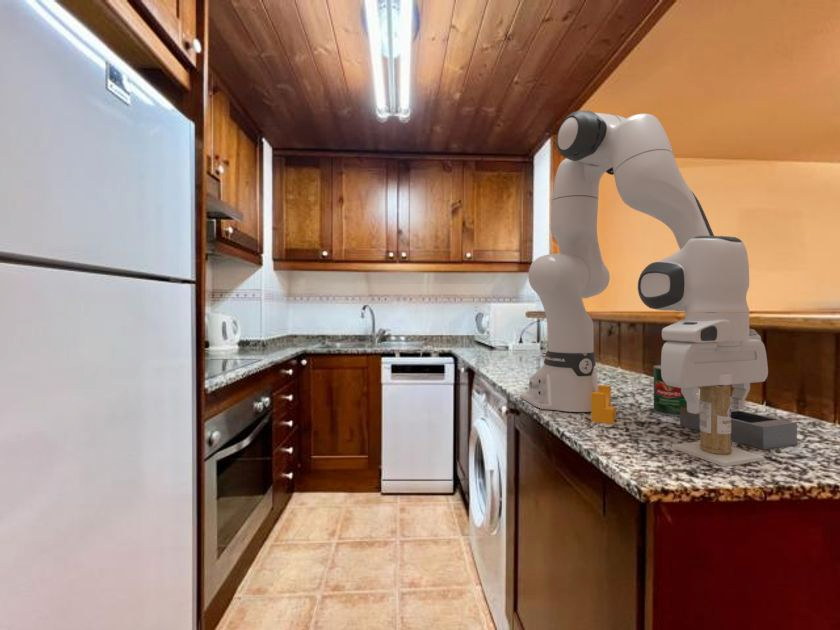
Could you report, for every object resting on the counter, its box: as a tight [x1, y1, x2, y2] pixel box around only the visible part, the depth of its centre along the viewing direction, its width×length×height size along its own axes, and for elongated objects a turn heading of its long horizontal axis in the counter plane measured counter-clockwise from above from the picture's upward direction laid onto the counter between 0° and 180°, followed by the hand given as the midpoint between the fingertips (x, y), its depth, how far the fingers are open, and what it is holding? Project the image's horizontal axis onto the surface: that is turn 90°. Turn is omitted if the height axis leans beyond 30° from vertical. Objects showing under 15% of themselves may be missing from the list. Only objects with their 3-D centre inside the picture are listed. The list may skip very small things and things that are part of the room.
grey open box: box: [679, 406, 798, 451], centre depth 79 cm, size 16×9×4 cm, turn 17°
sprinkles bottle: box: [698, 373, 732, 454], centre depth 68 cm, size 5×5×14 cm
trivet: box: [671, 440, 766, 468], centre depth 68 cm, size 9×9×1 cm
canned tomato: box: [653, 364, 687, 417], centre depth 96 cm, size 8×8×11 cm
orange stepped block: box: [590, 384, 617, 425], centre depth 93 cm, size 12×4×6 cm, turn 148°
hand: (716, 410), depth 68 cm, fingers open, 8 cm apart
